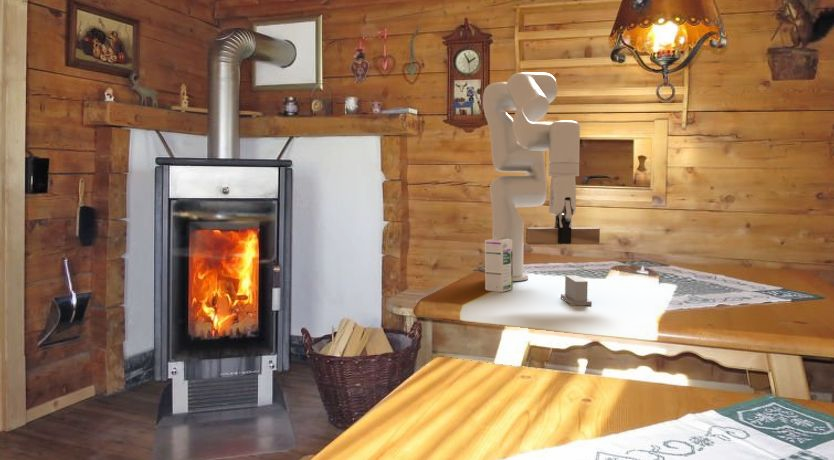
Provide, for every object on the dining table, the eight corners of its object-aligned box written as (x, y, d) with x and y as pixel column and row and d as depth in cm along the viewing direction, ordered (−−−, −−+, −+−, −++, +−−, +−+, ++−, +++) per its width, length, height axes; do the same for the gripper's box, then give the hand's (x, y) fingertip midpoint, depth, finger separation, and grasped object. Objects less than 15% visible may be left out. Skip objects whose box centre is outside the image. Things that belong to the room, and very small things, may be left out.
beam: (525, 243, 182) (526, 227, 182) (595, 243, 182) (596, 227, 182) (528, 244, 179) (528, 228, 178) (599, 244, 179) (599, 228, 179)
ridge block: (560, 297, 187) (561, 275, 186) (579, 297, 187) (579, 275, 187) (571, 305, 176) (572, 282, 176) (591, 305, 176) (592, 281, 176)
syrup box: (502, 292, 195) (503, 240, 193) (484, 290, 198) (484, 238, 197) (512, 289, 199) (513, 238, 198) (494, 287, 203) (495, 237, 202)
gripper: (542, 170, 187) (541, 239, 189) (556, 170, 171) (554, 246, 172) (570, 170, 187) (569, 239, 189) (587, 170, 171) (585, 246, 172)
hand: (562, 241), depth 180 cm, fingers closed on beam, 3 cm apart
